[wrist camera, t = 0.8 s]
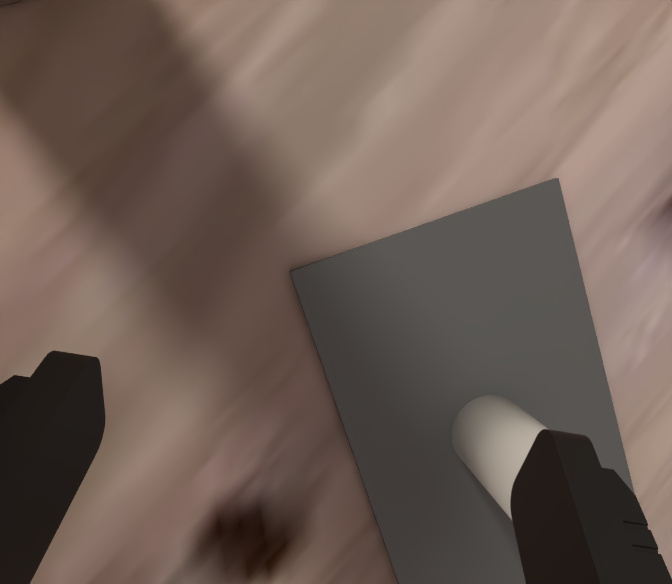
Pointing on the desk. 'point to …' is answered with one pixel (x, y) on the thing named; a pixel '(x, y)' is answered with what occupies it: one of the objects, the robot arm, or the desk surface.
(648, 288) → the desk surface
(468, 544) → the desk mat
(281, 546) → the desk surface
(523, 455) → the white domed bottle
